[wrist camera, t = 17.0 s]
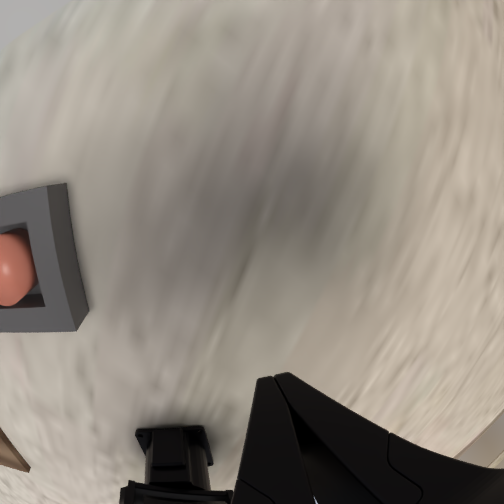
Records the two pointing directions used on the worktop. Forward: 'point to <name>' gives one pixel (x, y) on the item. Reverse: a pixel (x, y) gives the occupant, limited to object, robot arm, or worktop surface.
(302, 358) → the worktop surface
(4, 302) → the button
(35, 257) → the button housing
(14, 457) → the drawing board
